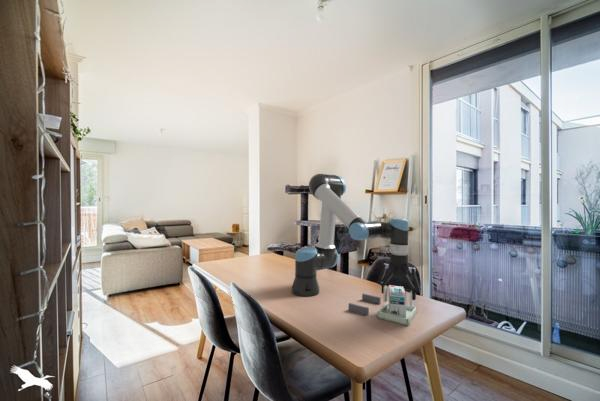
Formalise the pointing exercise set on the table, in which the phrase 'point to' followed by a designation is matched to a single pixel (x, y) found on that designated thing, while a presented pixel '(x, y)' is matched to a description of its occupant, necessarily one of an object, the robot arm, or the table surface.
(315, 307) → the table surface
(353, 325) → the table surface
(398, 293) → the light bulb box
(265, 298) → the table surface
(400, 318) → the tray
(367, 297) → the grey bars
